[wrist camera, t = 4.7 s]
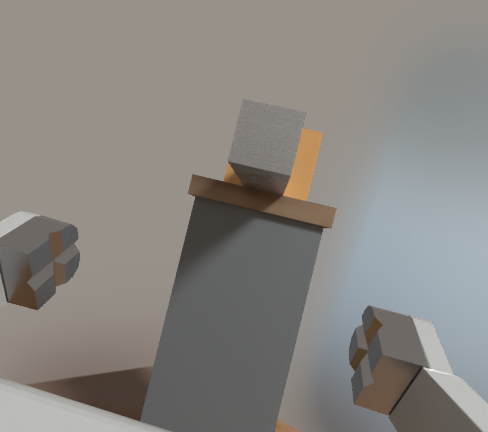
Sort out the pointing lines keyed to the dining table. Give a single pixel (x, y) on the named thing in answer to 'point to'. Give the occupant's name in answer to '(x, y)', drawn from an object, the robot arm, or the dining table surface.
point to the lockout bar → (273, 151)
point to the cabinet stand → (234, 309)
